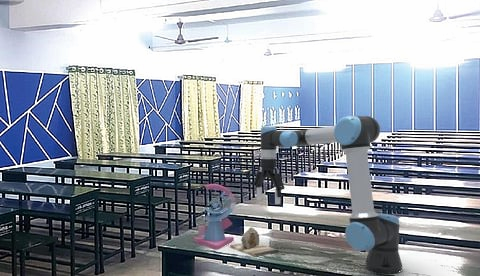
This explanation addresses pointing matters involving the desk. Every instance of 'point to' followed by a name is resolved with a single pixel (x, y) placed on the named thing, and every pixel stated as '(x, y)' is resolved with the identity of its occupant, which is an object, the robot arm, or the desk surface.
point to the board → (254, 249)
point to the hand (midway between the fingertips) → (268, 202)
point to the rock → (250, 238)
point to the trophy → (216, 221)
